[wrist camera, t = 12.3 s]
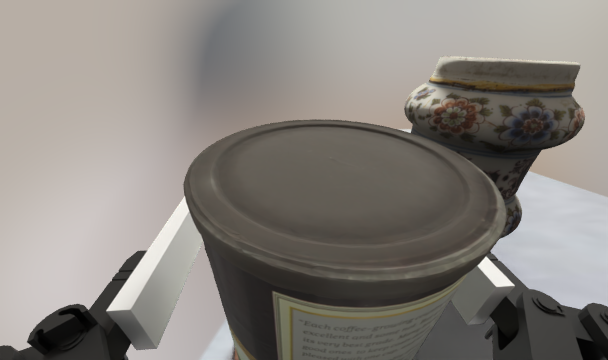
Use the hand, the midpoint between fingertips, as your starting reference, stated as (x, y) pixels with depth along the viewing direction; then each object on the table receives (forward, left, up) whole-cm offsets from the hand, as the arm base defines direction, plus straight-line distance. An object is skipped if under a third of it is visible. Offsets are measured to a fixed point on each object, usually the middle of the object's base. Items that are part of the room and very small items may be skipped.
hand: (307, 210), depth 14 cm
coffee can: (-1, +4, -9) cm, 10 cm away
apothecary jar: (-15, -7, -9) cm, 19 cm away
